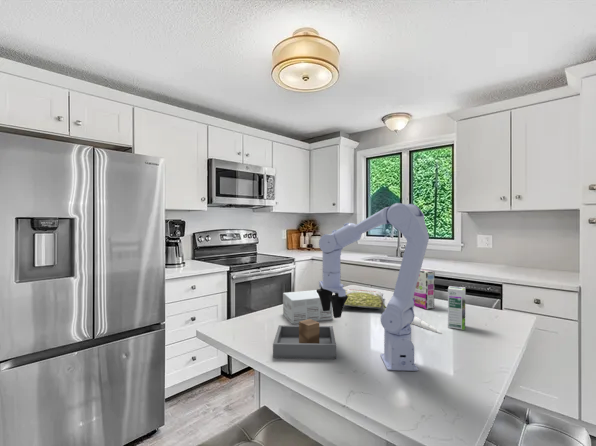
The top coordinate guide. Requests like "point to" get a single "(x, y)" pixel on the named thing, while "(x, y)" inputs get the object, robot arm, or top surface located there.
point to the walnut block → (309, 331)
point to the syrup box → (456, 307)
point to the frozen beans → (364, 299)
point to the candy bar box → (425, 290)
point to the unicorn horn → (424, 325)
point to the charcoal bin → (304, 344)
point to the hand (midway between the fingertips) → (331, 314)
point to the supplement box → (304, 307)
